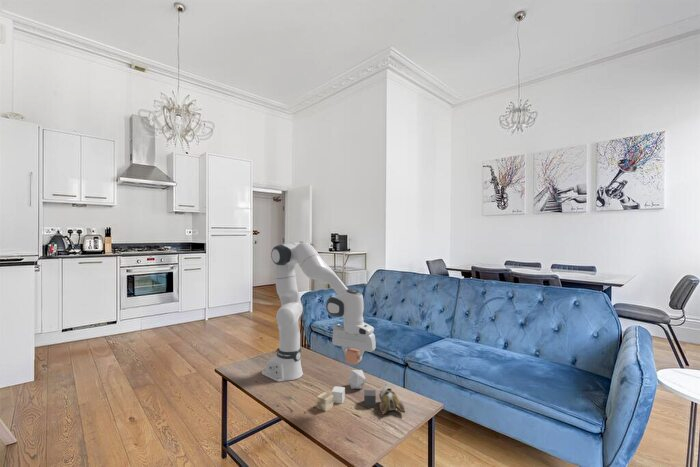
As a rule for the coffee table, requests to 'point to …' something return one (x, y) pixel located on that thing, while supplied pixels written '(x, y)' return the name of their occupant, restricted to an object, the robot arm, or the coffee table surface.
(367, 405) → the black cube
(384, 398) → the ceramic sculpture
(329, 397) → the birch cube
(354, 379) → the die
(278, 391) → the coffee table surface
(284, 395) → the coffee table surface
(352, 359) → the terracotta cube
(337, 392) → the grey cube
